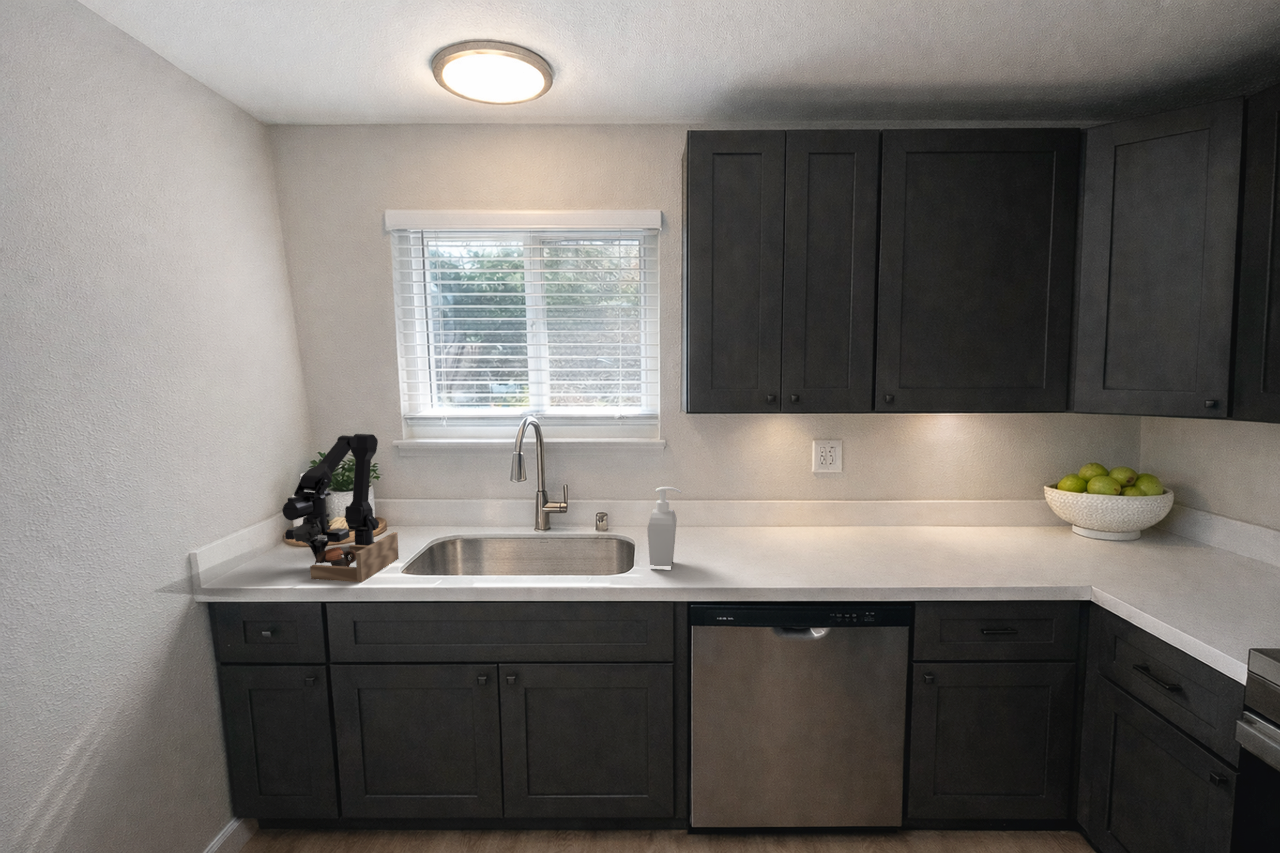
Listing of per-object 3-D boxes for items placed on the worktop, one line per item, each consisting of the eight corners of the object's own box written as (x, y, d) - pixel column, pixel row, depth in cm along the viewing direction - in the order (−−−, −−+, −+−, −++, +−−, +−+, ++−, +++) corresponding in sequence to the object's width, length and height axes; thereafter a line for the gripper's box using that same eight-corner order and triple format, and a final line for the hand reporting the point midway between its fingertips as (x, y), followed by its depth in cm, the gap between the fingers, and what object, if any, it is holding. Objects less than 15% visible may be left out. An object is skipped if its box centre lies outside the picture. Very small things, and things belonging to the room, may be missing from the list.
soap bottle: (679, 573, 193) (680, 492, 190) (646, 571, 194) (647, 491, 191) (681, 560, 205) (682, 483, 202) (651, 558, 206) (651, 482, 203)
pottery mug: (317, 579, 187) (309, 554, 189) (323, 583, 195) (316, 558, 197) (358, 565, 191) (351, 540, 193) (363, 568, 200) (356, 544, 201)
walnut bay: (352, 556, 207) (350, 530, 206) (398, 558, 205) (397, 532, 204) (310, 579, 186) (309, 550, 185) (361, 582, 184) (360, 553, 183)
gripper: (270, 517, 188) (273, 567, 190) (327, 520, 186) (329, 570, 188) (296, 508, 199) (298, 555, 201) (349, 511, 197) (351, 558, 198)
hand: (318, 560), depth 197 cm, fingers closed
